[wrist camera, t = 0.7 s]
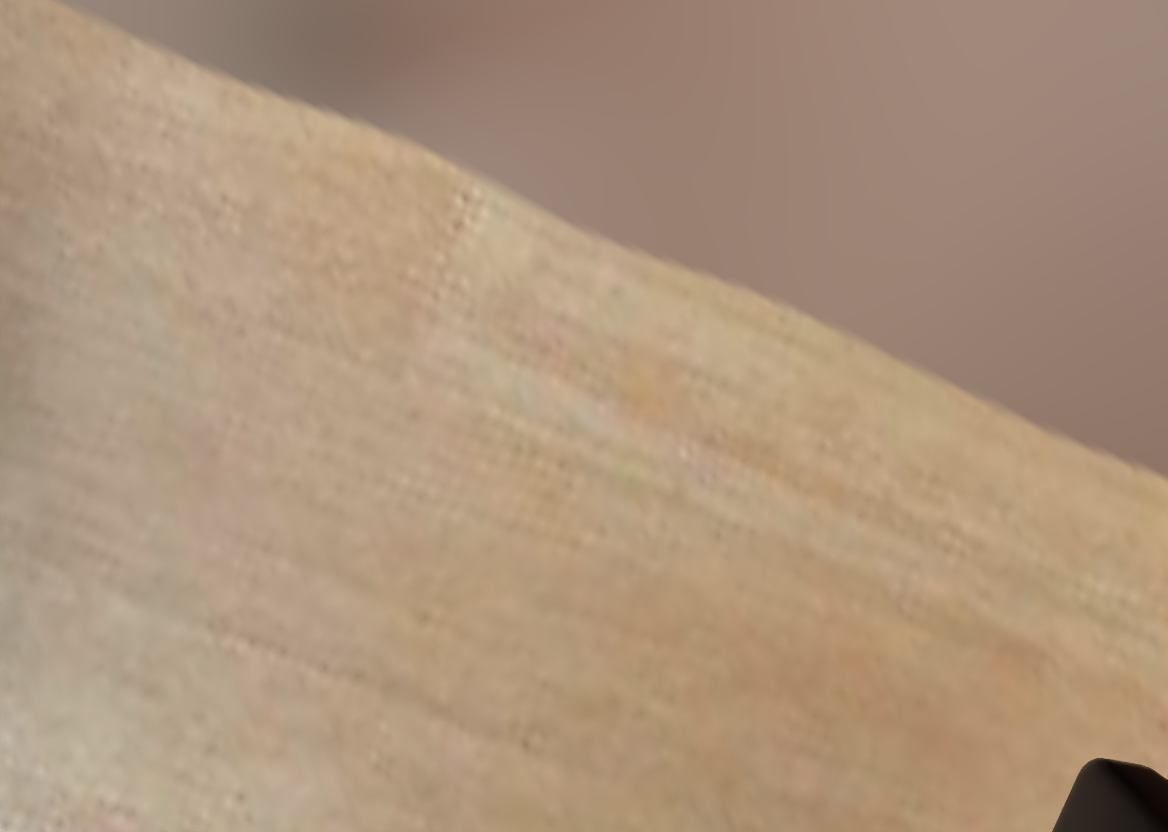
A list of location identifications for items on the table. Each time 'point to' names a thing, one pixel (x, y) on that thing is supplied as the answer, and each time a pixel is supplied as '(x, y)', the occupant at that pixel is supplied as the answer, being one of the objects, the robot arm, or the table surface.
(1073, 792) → the robot arm
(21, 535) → the table surface
